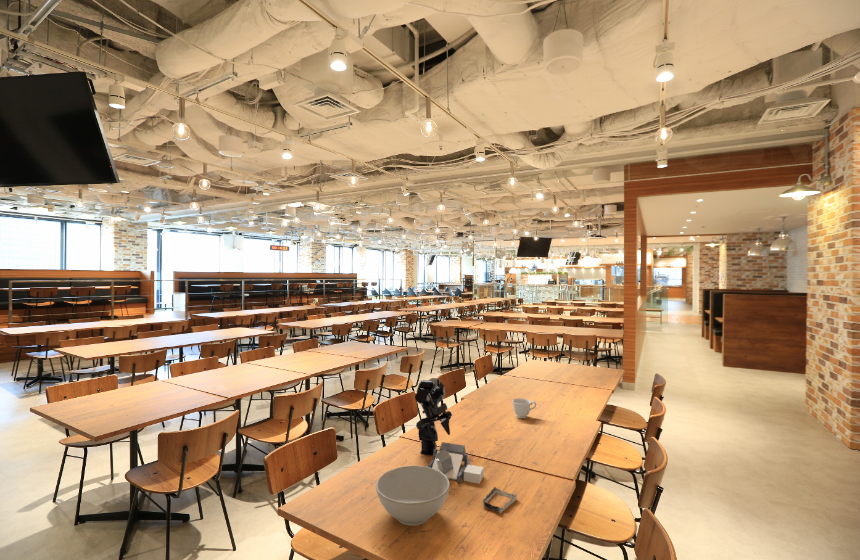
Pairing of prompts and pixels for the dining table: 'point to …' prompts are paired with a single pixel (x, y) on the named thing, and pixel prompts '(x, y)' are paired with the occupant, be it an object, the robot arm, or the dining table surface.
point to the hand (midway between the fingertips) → (442, 437)
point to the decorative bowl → (412, 493)
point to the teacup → (522, 407)
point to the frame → (461, 473)
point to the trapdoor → (456, 456)
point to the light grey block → (473, 474)
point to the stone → (444, 461)
